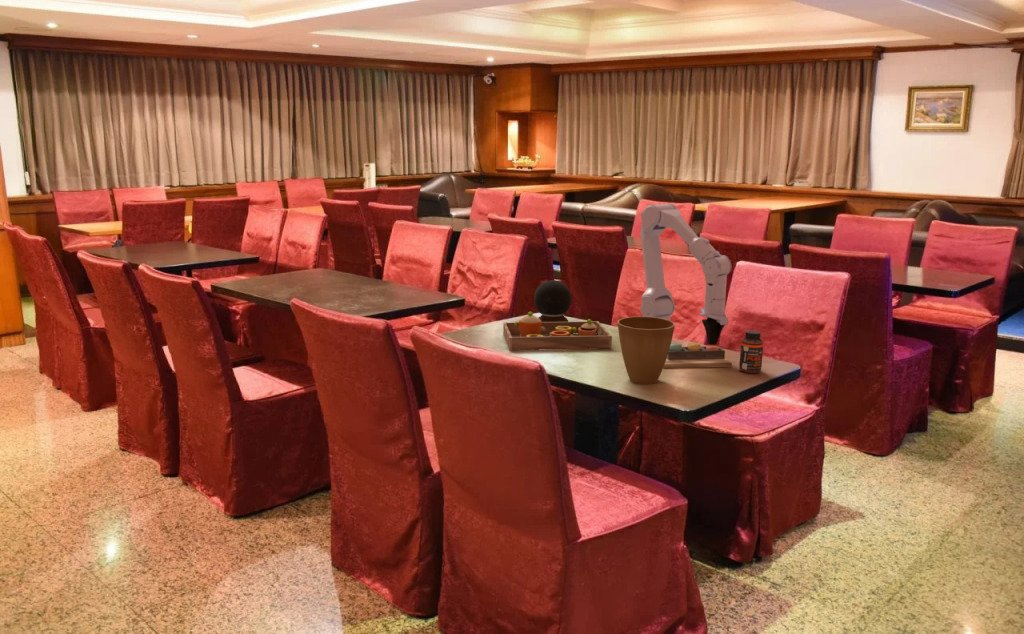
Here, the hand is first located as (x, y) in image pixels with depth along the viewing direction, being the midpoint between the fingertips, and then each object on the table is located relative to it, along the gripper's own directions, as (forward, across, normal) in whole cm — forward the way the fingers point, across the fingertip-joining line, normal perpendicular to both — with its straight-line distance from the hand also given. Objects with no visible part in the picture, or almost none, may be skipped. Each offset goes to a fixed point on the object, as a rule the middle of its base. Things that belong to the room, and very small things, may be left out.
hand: (712, 344), depth 244 cm
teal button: (+3, -1, -11) cm, 11 cm away
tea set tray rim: (+5, -31, -39) cm, 50 cm away
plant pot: (+5, +17, -27) cm, 32 cm away
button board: (+5, 0, -6) cm, 8 cm away
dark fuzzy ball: (+6, -58, -34) cm, 68 cm away
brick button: (+3, 0, 0) cm, 3 cm away
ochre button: (+3, 0, -5) cm, 6 cm away
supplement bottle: (+5, +13, +6) cm, 15 cm away
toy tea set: (+6, -31, -39) cm, 50 cm away
